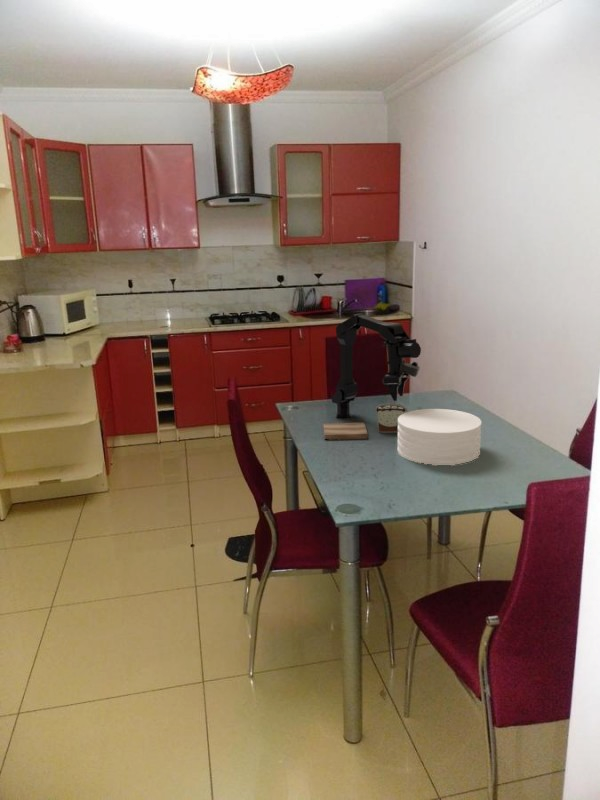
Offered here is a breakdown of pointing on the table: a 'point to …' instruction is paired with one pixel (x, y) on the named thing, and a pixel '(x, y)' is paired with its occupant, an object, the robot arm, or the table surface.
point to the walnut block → (345, 431)
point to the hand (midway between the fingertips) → (398, 398)
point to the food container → (389, 416)
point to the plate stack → (439, 436)
